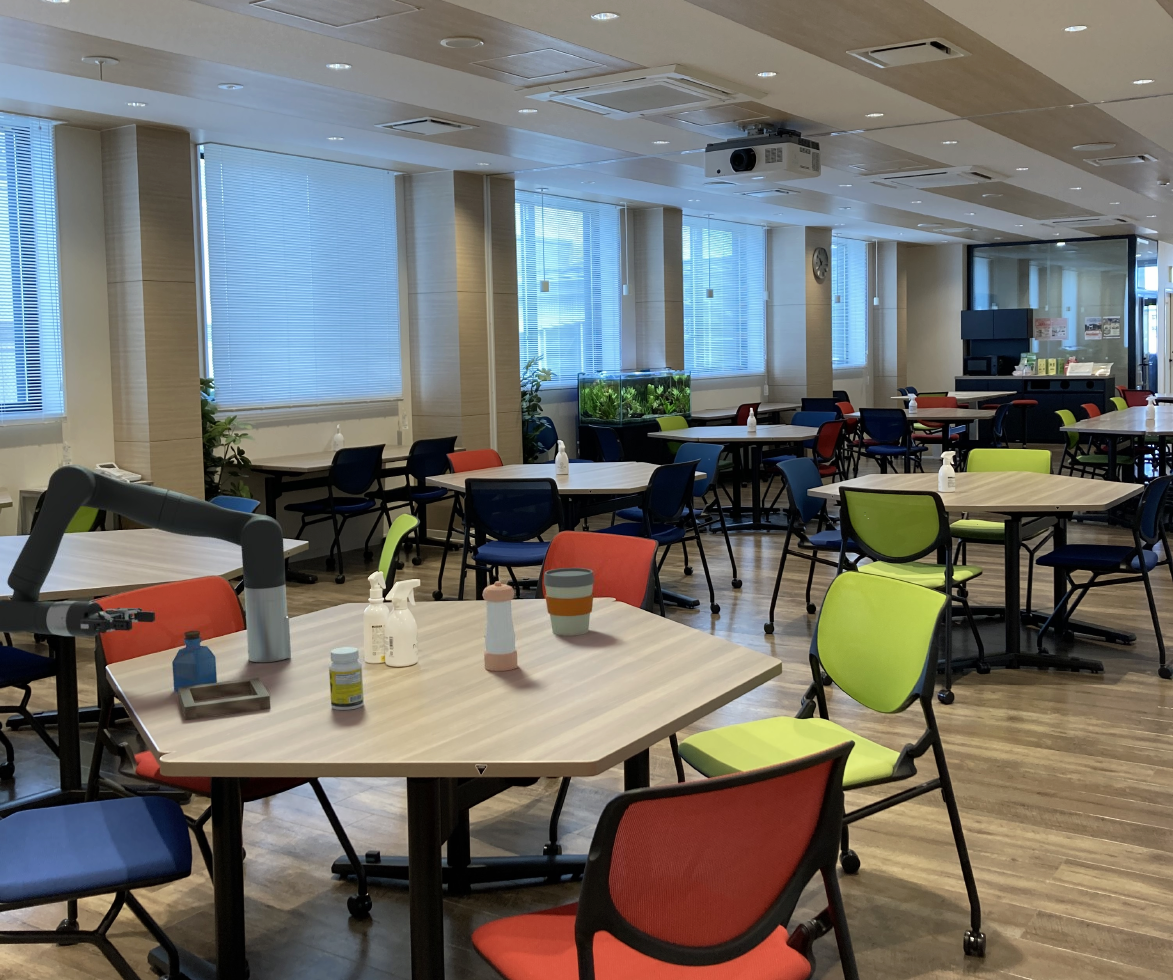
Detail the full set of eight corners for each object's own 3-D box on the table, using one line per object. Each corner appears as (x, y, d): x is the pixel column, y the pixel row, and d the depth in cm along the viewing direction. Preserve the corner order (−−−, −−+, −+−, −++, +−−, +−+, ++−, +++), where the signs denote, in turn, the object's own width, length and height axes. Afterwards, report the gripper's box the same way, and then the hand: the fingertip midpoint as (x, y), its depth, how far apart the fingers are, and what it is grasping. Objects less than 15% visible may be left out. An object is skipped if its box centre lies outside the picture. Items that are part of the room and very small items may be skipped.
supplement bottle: (335, 701, 236) (332, 646, 235) (367, 701, 236) (364, 645, 234) (327, 711, 229) (324, 654, 228) (359, 710, 229) (357, 653, 228)
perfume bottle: (217, 684, 252) (213, 629, 250) (198, 692, 246) (195, 636, 245) (193, 683, 254) (189, 628, 252) (174, 690, 248) (170, 635, 247)
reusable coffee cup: (605, 628, 295) (603, 569, 294) (578, 639, 285) (576, 577, 283) (563, 624, 302) (561, 566, 300) (535, 634, 291) (533, 574, 290)
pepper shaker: (477, 667, 260) (474, 582, 258) (501, 661, 265) (498, 577, 263) (500, 672, 255) (497, 585, 253) (524, 666, 260) (521, 580, 258)
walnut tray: (259, 689, 247) (258, 677, 247) (270, 708, 233) (269, 695, 232) (178, 699, 241) (178, 687, 241) (185, 719, 226) (184, 707, 226)
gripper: (53, 607, 247) (122, 610, 243) (94, 595, 260) (160, 597, 257) (55, 643, 247) (124, 645, 244) (96, 628, 261) (162, 631, 258)
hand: (142, 620), depth 251 cm, fingers open, 8 cm apart
